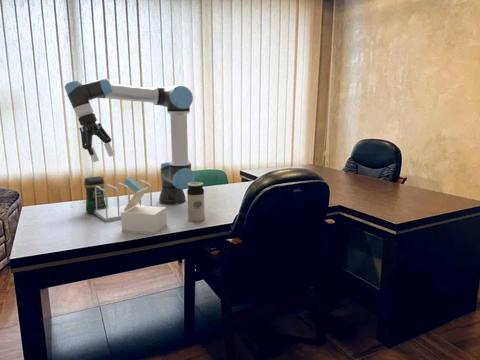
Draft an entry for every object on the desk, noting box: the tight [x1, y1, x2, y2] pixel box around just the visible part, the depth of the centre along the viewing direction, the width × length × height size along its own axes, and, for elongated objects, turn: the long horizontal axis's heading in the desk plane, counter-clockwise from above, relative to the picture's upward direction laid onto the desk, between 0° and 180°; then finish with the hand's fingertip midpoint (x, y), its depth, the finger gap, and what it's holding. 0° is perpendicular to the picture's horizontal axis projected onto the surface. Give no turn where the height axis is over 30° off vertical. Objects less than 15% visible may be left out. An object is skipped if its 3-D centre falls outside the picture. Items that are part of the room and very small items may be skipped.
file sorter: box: [93, 179, 153, 223], centre depth 193 cm, size 25×17×16 cm
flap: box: [123, 176, 149, 211], centre depth 168 cm, size 11×10×9 cm
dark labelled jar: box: [186, 181, 205, 223], centre depth 182 cm, size 8×8×18 cm
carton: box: [120, 205, 168, 236], centre depth 169 cm, size 16×12×9 cm
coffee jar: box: [83, 176, 106, 214], centre depth 196 cm, size 10×8×19 cm
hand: (104, 158), depth 175 cm, fingers open, 13 cm apart
